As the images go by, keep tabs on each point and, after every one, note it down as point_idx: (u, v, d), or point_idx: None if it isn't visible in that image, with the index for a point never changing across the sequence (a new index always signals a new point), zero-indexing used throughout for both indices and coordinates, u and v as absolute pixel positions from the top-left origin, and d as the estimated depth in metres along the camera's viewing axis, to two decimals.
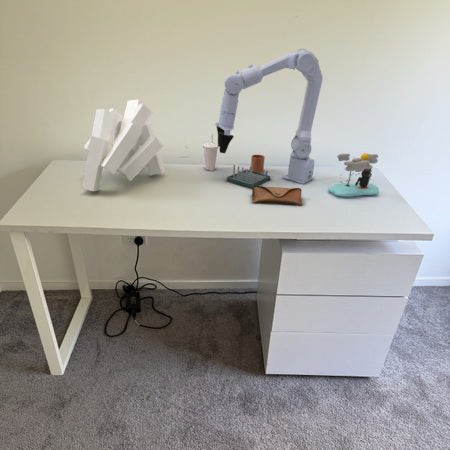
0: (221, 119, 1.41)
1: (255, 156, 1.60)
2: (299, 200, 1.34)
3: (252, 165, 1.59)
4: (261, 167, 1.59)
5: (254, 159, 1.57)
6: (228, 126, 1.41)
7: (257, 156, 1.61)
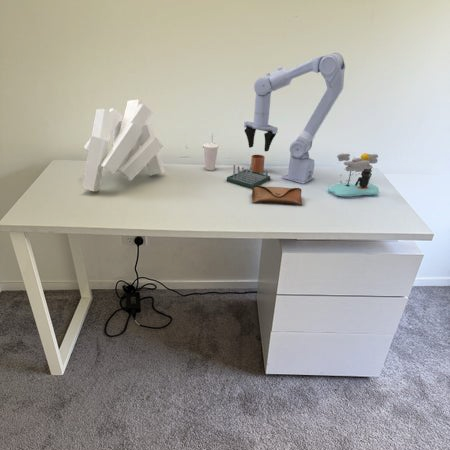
0: (261, 121, 1.48)
1: (255, 156, 1.60)
2: (299, 200, 1.34)
3: (252, 165, 1.59)
4: (261, 167, 1.59)
5: (254, 159, 1.57)
6: (267, 125, 1.50)
7: (257, 156, 1.61)
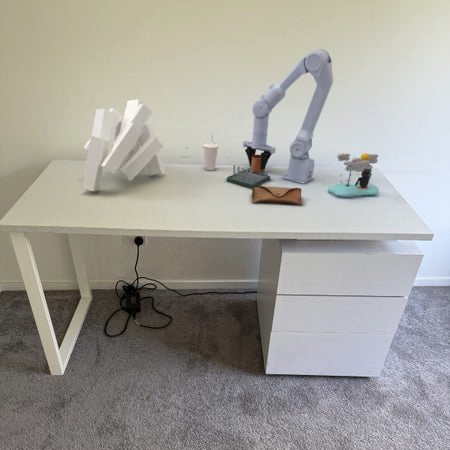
0: (260, 142, 1.52)
1: (255, 156, 1.60)
2: (299, 200, 1.34)
3: (252, 165, 1.59)
4: None
5: (254, 159, 1.57)
6: (265, 145, 1.55)
7: (257, 156, 1.61)
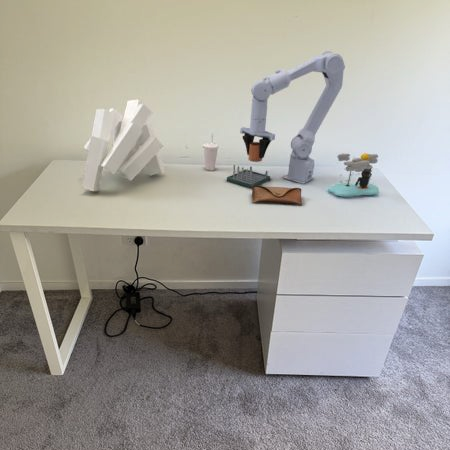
0: (258, 127, 1.41)
1: (253, 144, 1.49)
2: (299, 200, 1.34)
3: (250, 153, 1.48)
4: None
5: (252, 147, 1.46)
6: (264, 131, 1.43)
7: (256, 144, 1.49)
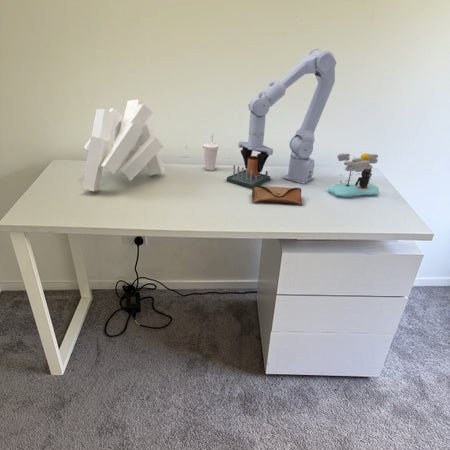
0: (256, 142, 1.41)
1: (251, 158, 1.50)
2: (299, 200, 1.34)
3: (248, 167, 1.48)
4: None
5: (250, 161, 1.46)
6: (262, 146, 1.44)
7: (254, 158, 1.50)
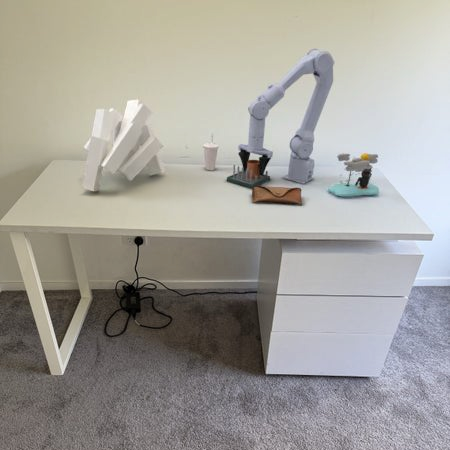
0: (256, 145, 1.42)
1: (251, 161, 1.50)
2: (299, 200, 1.34)
3: (248, 171, 1.49)
4: (257, 173, 1.49)
5: (249, 165, 1.47)
6: (262, 149, 1.44)
7: (253, 162, 1.51)
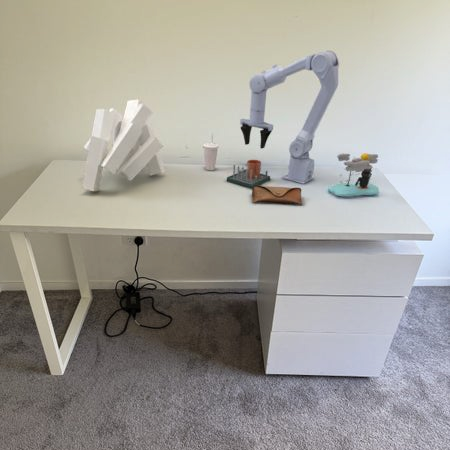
0: (257, 118, 1.49)
1: (251, 161, 1.50)
2: (299, 200, 1.35)
3: (248, 171, 1.49)
4: (257, 173, 1.49)
5: (249, 165, 1.47)
6: (263, 122, 1.52)
7: (253, 162, 1.51)
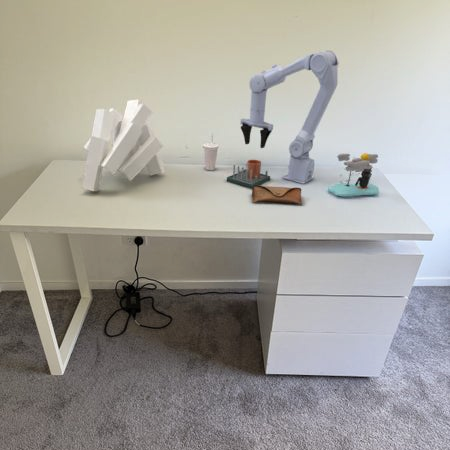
0: (257, 118, 1.50)
1: (251, 161, 1.50)
2: (299, 200, 1.35)
3: (248, 171, 1.49)
4: (257, 173, 1.49)
5: (249, 165, 1.47)
6: (263, 122, 1.52)
7: (253, 162, 1.51)
